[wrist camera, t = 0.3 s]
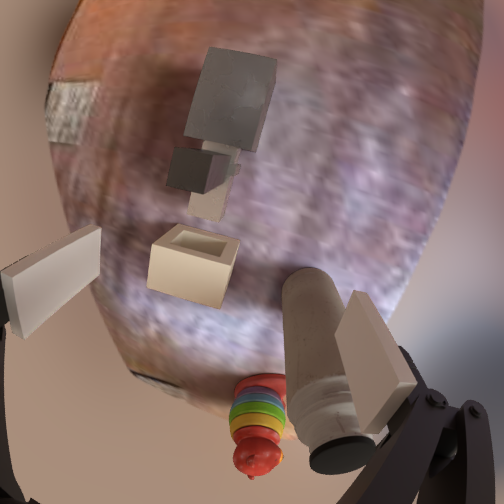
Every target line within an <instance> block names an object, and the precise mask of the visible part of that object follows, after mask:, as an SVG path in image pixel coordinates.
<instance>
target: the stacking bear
mask: <svg viewBox="0 0 504 504" xmlns="http://www.w3.org/2000/svg"><path fill="white" fill-rule="evenodd" d="M234 395H235V400H234V403H233V405H232V407H231V410H230V415H229V425H230V433H231V437H232V439H233V440H234V442H235V443H236V444H237V447H236V449H235V451H234V455H233V462H234V465H235V467H236V468H237V469H238V470H239V471H240V472H242V473H244V474H247V475H248V478H249V479H251V480H254V476H261V475H265V474H267V473H269V472H270V471H271V470H272V469H273V468H274V467H275V466H277V465H278V464H279V463H280V462H281V461H282V459H283V453H282V451H281V449H280V448H279V447H278V446H277V445H278V444H279V442H280V439H281V437H282V433H283V429H284V426H285V420H286V419H285V411H284V410H285V403H284V401H283V397H284V396H285V395H286V376H285V375H280V374H262V375H256V376H252V377H249V378H246V379H244V380H242V381H240V382H239V383H238V384H237V386H236V387H235V391H234Z"/></svg>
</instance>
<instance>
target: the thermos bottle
mask: <svg viewBox="0 0 504 504" xmlns="http://www.w3.org/2000/svg"><path fill="white" fill-rule="evenodd" d="M281 297H282V313H283V331H284V351H285V373H286V398H287V416H288V418H289V420H290V422H291V423H292V424H293V425H294V429H295V432H296V434H297V436H298V439H299V440H300V441H301V442H302V443H303V444H305V445H306V446H309V452H310V454H311V455H310V458H309V462H310V467H311V469H312V470H313V471H315V472H317V473H320V474H325V475H335V474H343V473H348V472H351V471H354V470H357V469H359V468H361V467H363V466H364V465H366V464H367V463H368V462H369V460H370V459H371V457H372V456H373V454H374V453H375V451H376V449H375V447H376V445H375V442H374V441H373V436H372V434H361V431H360V427H359V423H358V419H357V415H356V411H355V407H354V403H353V399H352V395H351V391H350V388H349V384H348V380H347V377H346V373H345V369H344V366H343V362H342V359H341V355H340V352H339V348H338V345H337V342H336V338H335V333H336V330H337V328H338V326H339V324H340V321H341V319H342V317H343V314H344V312H345V310H346V309H345V307H344V305H343V302H342V300H341V298H340V296H339V293H338V291H337V289H336V287H335V285H334V282H333V280H332V279H331V277H330V276H329V275H328V274H327V273H325V272H324V271H322V270H320V269H316V268H304V269H300V270H298V271H296V272H294V273H293V274H291V275H290V276H289V277H288V278H287V279H286V281H285V282H284V284H283V287H282V292H281Z"/></svg>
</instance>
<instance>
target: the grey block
mask: <svg viewBox="0 0 504 504" xmlns="http://www.w3.org/2000/svg"><path fill="white" fill-rule="evenodd" d="M276 68H277V59H273V58H269V57H265V56H260V55H255V54H250V53H245V52H240V51H234V50H228V49H221V48H215V47H209V49H208V52H207V55H206V58H205V61H204V64H203V68H202V71H201V74H200V77H199V80H198V84H197V87H196V90H195V94H194V97H193V101H192V104H191V108H190V112H189V115H188V119H187V123H186V127H185V130H184V134H183V136H187V137H192V138H196V139H201V140H207V141H211V142H216V143H220V144H225V145H229V146H233V147H237V148H242V149H244V150H248V151H252V152H256V150H257V147H258V143H259V140H260V136H261V132H262V129H263V125H264V122H265V118H266V114H267V111H268V107H269V104H270V100H271V97H272V93H273V90H274V86H275V83H276Z"/></svg>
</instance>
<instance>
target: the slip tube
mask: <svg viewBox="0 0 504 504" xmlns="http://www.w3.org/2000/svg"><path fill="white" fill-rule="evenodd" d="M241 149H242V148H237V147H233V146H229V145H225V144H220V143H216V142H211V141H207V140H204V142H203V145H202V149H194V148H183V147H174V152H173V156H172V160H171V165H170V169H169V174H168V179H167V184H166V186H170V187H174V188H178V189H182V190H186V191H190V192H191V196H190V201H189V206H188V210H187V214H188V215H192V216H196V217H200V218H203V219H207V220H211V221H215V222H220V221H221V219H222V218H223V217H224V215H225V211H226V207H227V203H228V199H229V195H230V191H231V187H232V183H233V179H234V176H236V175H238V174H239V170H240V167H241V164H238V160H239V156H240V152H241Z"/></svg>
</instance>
